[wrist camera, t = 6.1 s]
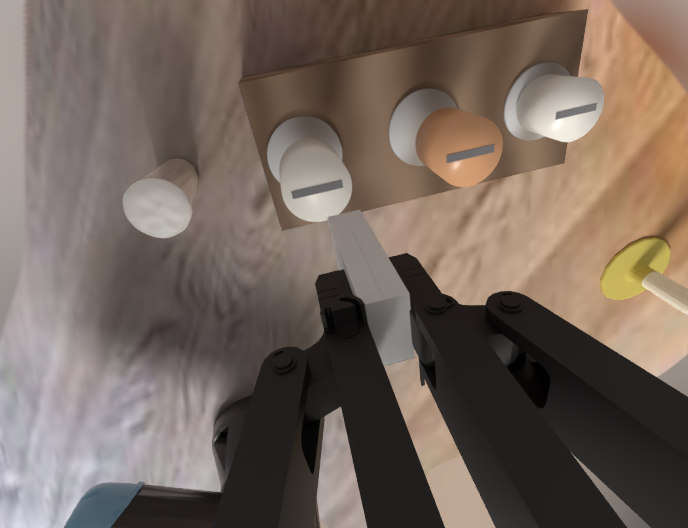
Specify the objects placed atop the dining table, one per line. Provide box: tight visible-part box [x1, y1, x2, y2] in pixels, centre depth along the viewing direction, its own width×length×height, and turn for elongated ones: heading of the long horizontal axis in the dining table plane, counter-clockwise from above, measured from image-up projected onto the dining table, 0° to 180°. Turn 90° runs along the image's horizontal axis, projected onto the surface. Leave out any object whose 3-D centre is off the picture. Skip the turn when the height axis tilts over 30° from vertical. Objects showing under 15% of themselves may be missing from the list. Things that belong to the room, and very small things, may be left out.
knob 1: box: [279, 139, 352, 222], centre depth 24 cm, size 4×4×4 cm
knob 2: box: [516, 74, 604, 142], centre depth 29 cm, size 4×4×4 cm
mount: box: [238, 9, 588, 231], centre depth 32 cm, size 27×12×5 cm, turn 100°
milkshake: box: [123, 158, 199, 238], centre depth 29 cm, size 5×5×10 cm
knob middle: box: [415, 107, 503, 187], centre depth 25 cm, size 4×4×4 cm
